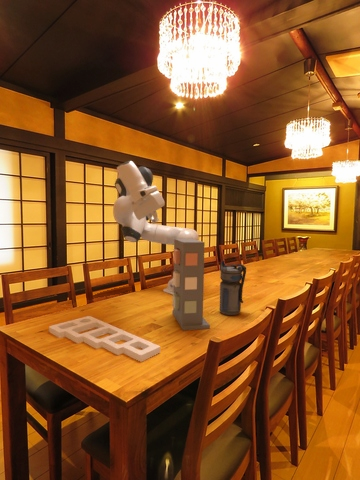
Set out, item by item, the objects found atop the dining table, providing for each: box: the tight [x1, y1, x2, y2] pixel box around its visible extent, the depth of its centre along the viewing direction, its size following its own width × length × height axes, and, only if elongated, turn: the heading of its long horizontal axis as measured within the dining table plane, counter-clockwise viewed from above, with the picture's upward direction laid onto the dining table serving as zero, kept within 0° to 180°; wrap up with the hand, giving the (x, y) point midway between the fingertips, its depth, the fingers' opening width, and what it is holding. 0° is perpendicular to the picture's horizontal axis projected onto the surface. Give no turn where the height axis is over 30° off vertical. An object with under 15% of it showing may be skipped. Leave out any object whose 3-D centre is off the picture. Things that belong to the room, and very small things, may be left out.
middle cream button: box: [172, 271, 180, 287], centre depth 131 cm, size 6×6×6 cm
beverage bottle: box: [219, 260, 247, 316], centre depth 143 cm, size 10×13×25 cm
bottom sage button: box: [172, 293, 179, 310], centre depth 131 cm, size 6×6×6 cm
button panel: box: [172, 239, 211, 331], centre depth 132 cm, size 12×22×36 cm, turn 13°
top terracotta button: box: [172, 249, 180, 264], centre depth 130 cm, size 6×6×6 cm
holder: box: [48, 315, 161, 363], centre depth 109 cm, size 45×18×3 cm, turn 48°
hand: (156, 222), depth 134 cm, fingers closed
